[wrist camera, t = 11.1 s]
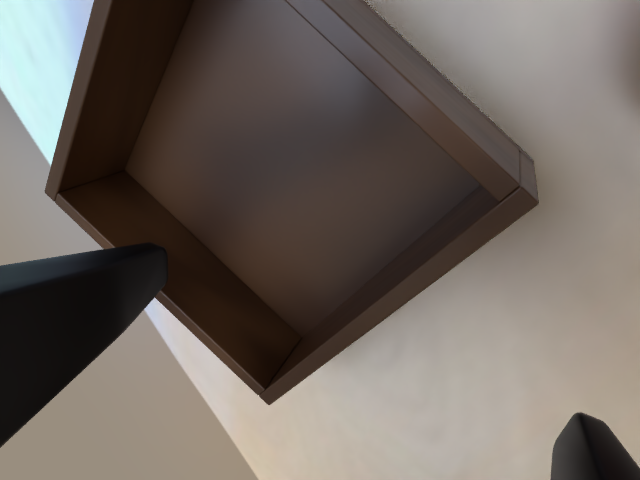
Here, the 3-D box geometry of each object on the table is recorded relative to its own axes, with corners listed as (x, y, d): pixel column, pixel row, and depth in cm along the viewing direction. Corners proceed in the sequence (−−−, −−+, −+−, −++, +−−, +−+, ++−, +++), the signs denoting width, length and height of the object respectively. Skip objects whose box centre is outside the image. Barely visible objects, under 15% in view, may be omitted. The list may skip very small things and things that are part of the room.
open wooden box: (534, 160, 16) (540, 204, 12) (308, 346, 26) (268, 406, 22) (234, -122, 16) (137, -175, 12) (119, 167, 26) (43, 192, 22)
